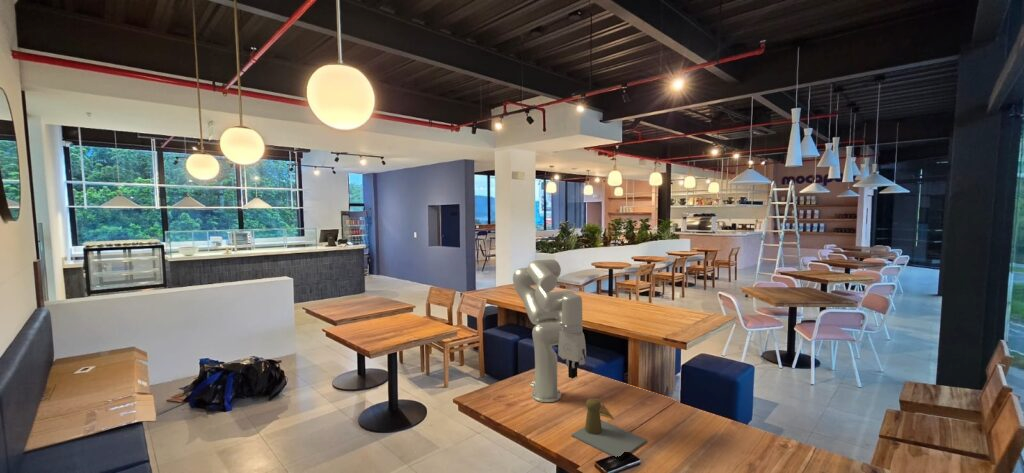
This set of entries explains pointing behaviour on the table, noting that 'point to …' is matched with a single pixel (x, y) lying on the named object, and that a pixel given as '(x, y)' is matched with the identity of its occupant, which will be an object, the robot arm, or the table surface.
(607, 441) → the slate mat
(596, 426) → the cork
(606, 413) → the shard
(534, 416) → the table surface
